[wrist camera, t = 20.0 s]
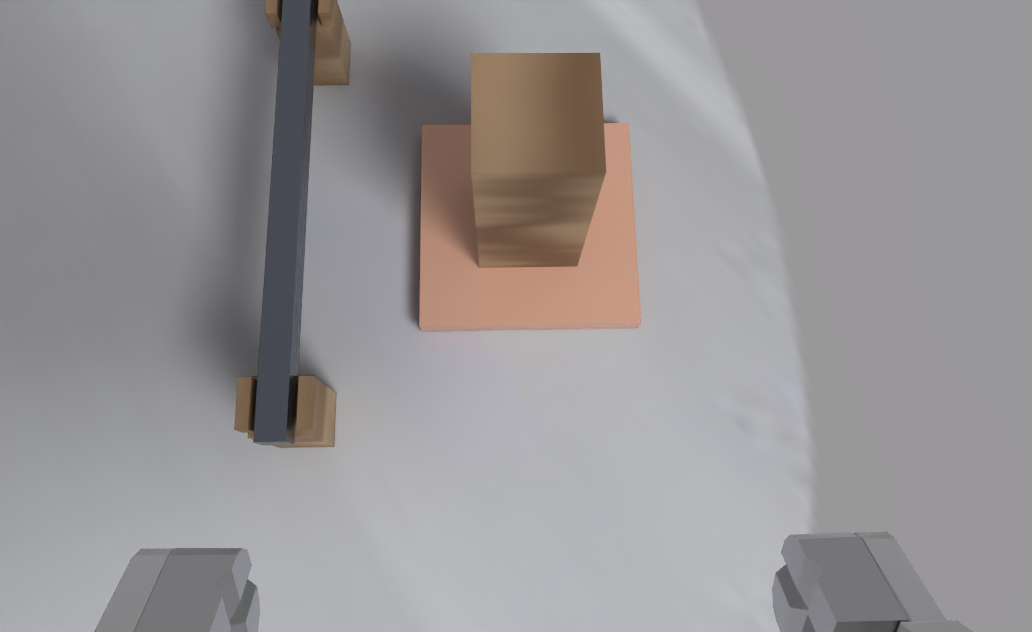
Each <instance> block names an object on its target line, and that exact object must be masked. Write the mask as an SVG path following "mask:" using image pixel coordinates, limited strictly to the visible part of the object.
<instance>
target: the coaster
mask: <svg viewBox="0 0 1032 632" xmlns="http://www.w3.org/2000/svg"><path fill="white" fill-rule="evenodd" d="M604 137H605V156H606V174H605V178H604V181H603V184H602V187H601V191H600V194H599V197H598V201H597V204H596V207H595V210H594V214H593V217H592V220H591V223H590V227H589V230H588V233H587V236H586V240H585V243H584V246H583V249H582V253H581V256H580V259H579V263H578V266H577V267H505V268H479V258H478V246H477V235H476V223H475V211H474V199H473V188H472V176H471V124H438V125H422V158H421V238H420V318H419V326H420V329H421V331H471V330H539V329H607V328H638V327H639V325H640V324H641V310H640V294H639V279H638V263H637V247H636V231H635V216H634V200H633V184H632V168H631V153H630V137H629V123H604Z"/></svg>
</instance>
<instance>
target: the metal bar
mask: <svg viewBox="0 0 1032 632" xmlns="http://www.w3.org/2000/svg"><path fill="white" fill-rule="evenodd" d="M317 9H318V0H283V5H282V20H281V35H280V50H279V65H278V80H277V95H276V110H275V125H274V140H273V155H272V170H271V185H270V200H269V215H268V230H267V244H266V259H265V274H264V289H263V304H262V319H261V334H260V349H259V364H258V379H257V394H256V409H255V424H254V439H253V442H254V443H257V444H261V445H294V442H295V423H296V404H297V385H298V367H299V348H300V329H301V310H302V291H303V273H304V254H305V235H306V216H307V197H308V179H309V160H310V141H311V122H312V103H313V85H314V66H315V47H316V28H317Z"/></svg>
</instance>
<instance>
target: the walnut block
mask: <svg viewBox="0 0 1032 632" xmlns="http://www.w3.org/2000/svg"><path fill="white" fill-rule="evenodd" d="M605 174H606V156H605V137H604V118H603V100H602V81H601V62H600V53H496V54H471V176H472V188H473V199H474V211H475V223H476V235H477V246H478V258H479V268H505V267H577V266H578V263H579V259H580V256H581V253H582V249H583V246H584V243H585V240H586V236H587V233H588V230H589V227H590V223H591V220H592V217H593V214H594V210H595V207H596V204H597V201H598V197H599V194H600V191H601V187H602V184H603V181H604V178H605Z"/></svg>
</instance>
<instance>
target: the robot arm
mask: <svg viewBox="0 0 1032 632" xmlns="http://www.w3.org/2000/svg"><path fill="white" fill-rule="evenodd" d="M781 553H782V556H783V558H784V560H785V563H786V565H785V566H783V567H782V568H781V569H780V570H779V571H777V572H776V574H775V579H774V583H773V588H772V592H773V608H774V613H775V617H776V621H777V624H778V626H779V629H780V632H973V631H971V630H970V629H968V628H967V627H965V626H964V625H962V624H961V623H959V622H958V621H947V620H946V618H945V617H944V615H943V614H942V612H941V610H940V609H939V607H938V606H937V604H936V602H935V601H934V599H933V598H932V596H931V594H930V593H929V591H928V590H927V588H926V587H925V585H924V583H923V582H922V580H921V579H920V577H919V575H918V574H917V572H916V571H915V569H914V568H913V566H912V564H911V563H910V561H909V559H908V558H907V557H906V555H905V553H904V552H903V550H902V548H901V547H900V545H899V544H898V542H897V540H896V539H895V537H894V536H892V535H891V534H890V533H888V532H864V533H826V534H797V535H789V536H788V537H787V538H786V539H785V541H784V544H783V548H782V551H781ZM251 566H252V565H251V561H250V558H249V554H248V551H247V550H246V549H243V548H175V549H140V550H139V551H138V552H137V553H136V554H135V555H134V556H133V557H132V558H131V560H130V562H129V564H128V566H127V568H126V570H125V572H124V574H123V576H122V578H121V580H120V582H119V584H118V586H117V588H116V590H115V592H114V594H113V596H112V598H111V600H110V602H109V604H108V606H107V608H106V610H105V612H104V614H103V616H102V618H101V619H100V621H99V623H98V625H97V627H96V629H95V631H94V632H258V624H259V616H260V606H259V595H258V591H257V586H256V585H255V584H253V583H252V582H251V581H249V580H248V579H247V578H248V575H249V572H250V569H251Z"/></svg>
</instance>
